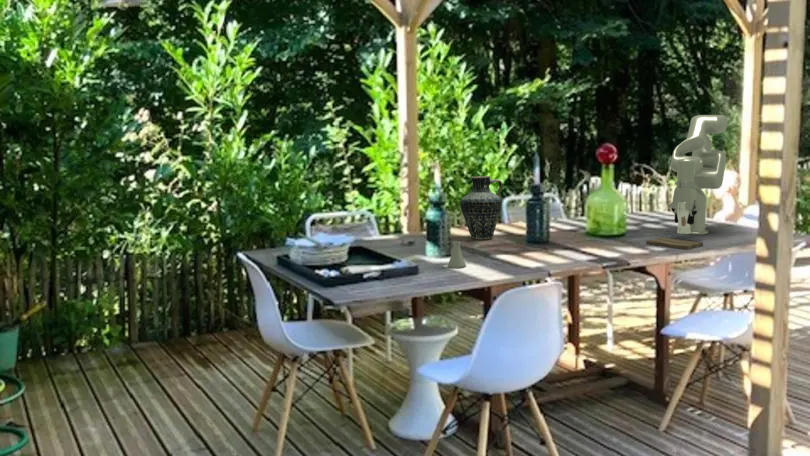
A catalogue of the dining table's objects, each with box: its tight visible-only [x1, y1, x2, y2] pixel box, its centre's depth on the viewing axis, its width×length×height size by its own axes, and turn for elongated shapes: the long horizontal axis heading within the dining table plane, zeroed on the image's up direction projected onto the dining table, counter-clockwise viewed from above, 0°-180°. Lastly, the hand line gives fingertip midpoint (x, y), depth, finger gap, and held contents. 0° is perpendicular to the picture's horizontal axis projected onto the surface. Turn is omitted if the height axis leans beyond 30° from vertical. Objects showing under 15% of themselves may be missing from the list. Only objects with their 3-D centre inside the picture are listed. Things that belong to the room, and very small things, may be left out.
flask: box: [447, 241, 467, 269], centre depth 326 cm, size 7×7×10 cm
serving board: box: [645, 237, 704, 251], centre depth 371 cm, size 14×20×2 cm
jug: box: [459, 175, 504, 240], centre depth 392 cm, size 21×19×30 cm
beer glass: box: [676, 202, 691, 235], centre depth 382 cm, size 7×7×15 cm
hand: (684, 223), depth 382 cm, fingers closed on beer glass, 6 cm apart
